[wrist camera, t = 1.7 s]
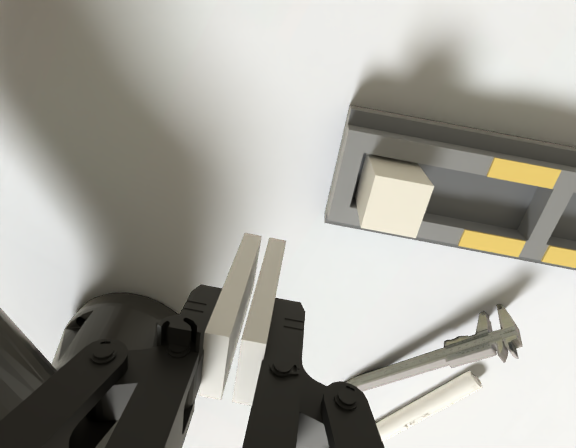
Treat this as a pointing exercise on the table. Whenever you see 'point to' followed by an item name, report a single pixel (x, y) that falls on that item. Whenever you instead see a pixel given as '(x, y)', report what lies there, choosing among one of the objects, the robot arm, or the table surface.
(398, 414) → the marker
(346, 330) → the table surface
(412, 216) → the tab
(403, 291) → the table surface
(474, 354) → the caliper
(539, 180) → the switch board
